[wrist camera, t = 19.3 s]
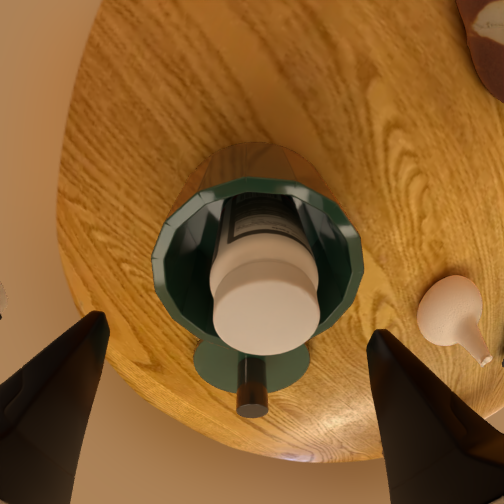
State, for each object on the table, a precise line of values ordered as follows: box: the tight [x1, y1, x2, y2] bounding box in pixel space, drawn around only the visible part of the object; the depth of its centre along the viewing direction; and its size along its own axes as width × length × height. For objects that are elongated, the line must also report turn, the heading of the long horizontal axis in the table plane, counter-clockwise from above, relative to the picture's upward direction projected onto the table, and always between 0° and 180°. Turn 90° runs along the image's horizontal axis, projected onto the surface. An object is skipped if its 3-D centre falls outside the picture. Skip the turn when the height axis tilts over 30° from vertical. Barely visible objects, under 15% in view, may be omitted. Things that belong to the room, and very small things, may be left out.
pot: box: [151, 142, 364, 350], centre depth 16 cm, size 9×9×6 cm
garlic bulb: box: [417, 275, 493, 367], centre depth 19 cm, size 6×6×8 cm
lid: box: [193, 339, 310, 418], centre depth 23 cm, size 10×10×6 cm
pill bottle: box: [210, 192, 320, 355], centre depth 15 cm, size 5×5×8 cm
